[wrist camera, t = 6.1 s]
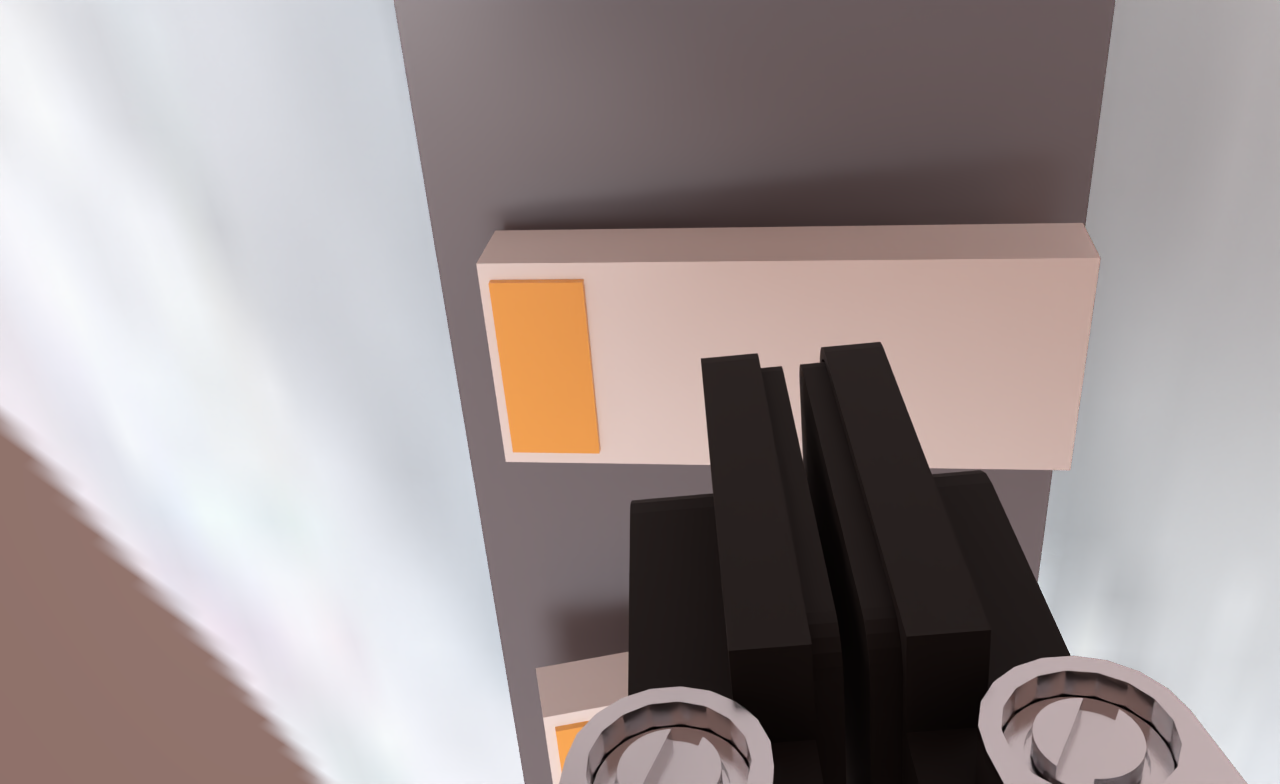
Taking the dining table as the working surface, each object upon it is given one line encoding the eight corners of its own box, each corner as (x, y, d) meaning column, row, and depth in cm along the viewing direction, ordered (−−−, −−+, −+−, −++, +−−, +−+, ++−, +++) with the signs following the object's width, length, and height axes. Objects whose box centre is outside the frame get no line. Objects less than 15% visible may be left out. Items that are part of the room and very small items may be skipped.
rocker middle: (1082, 222, 20) (1101, 261, 18) (1056, 427, 22) (1071, 474, 20) (495, 230, 21) (474, 266, 20) (521, 421, 23) (504, 465, 22)
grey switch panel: (1131, -1001, 17) (1272, -1179, 13) (965, 670, 33) (1010, 783, 30) (285, -937, 17) (209, -1100, 13) (536, 704, 33) (531, 822, 30)
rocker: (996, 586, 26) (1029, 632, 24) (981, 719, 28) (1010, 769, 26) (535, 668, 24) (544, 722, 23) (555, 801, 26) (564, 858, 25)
